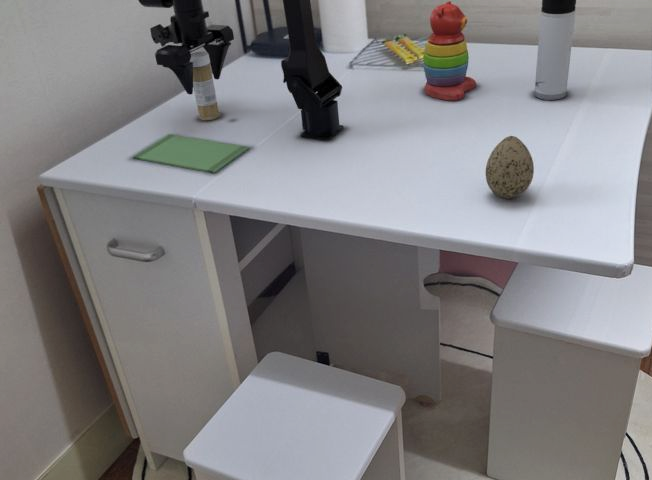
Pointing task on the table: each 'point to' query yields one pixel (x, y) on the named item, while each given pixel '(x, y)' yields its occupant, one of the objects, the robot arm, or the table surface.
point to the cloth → (191, 153)
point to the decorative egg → (509, 168)
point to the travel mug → (554, 48)
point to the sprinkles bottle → (204, 86)
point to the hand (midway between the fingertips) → (203, 86)
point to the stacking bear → (447, 55)
